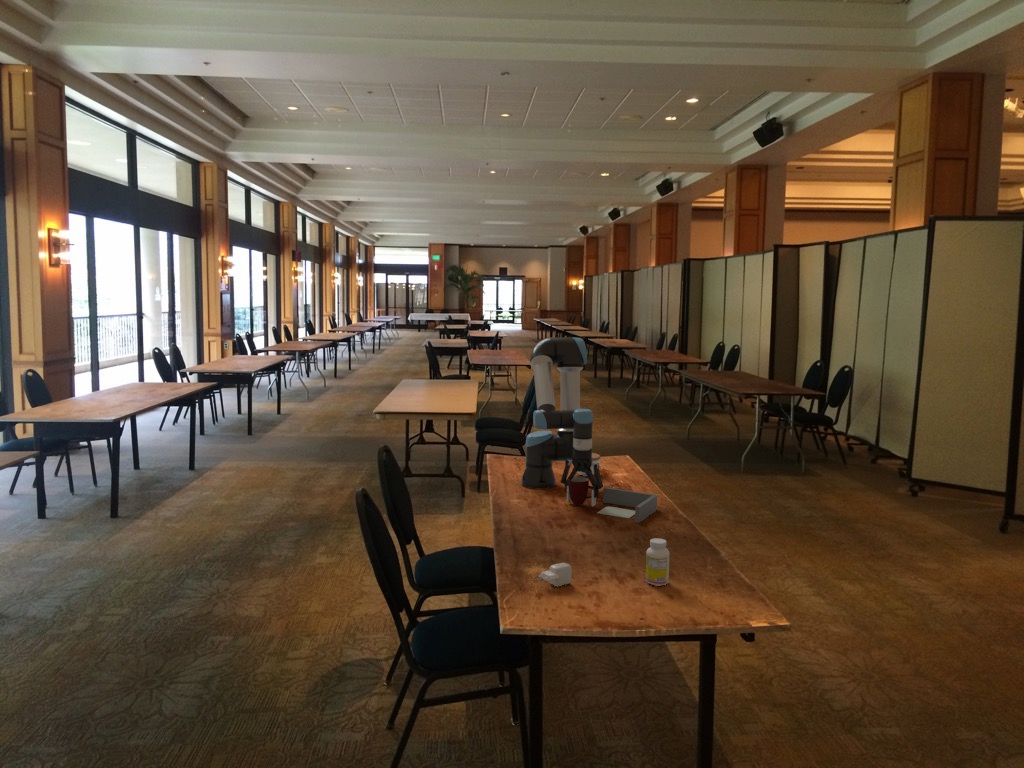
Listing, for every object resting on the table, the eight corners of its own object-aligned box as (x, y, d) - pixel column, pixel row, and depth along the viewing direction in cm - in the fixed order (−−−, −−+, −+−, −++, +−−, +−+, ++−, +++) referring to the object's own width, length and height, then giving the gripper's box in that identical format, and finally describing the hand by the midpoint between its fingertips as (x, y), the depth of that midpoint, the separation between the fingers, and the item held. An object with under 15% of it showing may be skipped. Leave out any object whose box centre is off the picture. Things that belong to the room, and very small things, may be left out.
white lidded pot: (566, 474, 353) (567, 450, 351) (585, 469, 361) (585, 447, 360) (587, 479, 344) (587, 455, 342) (605, 474, 352) (606, 451, 351)
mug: (593, 501, 305) (594, 477, 304) (595, 507, 297) (595, 482, 296) (567, 500, 306) (567, 476, 304) (568, 506, 298) (568, 481, 296)
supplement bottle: (652, 577, 227) (653, 535, 226) (672, 582, 223) (674, 540, 221) (641, 583, 222) (642, 541, 220) (661, 589, 218) (663, 546, 216)
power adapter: (541, 593, 215) (541, 573, 214) (532, 587, 219) (532, 567, 218) (573, 585, 220) (573, 565, 220) (563, 579, 224) (563, 560, 224)
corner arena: (583, 513, 290) (584, 498, 290) (604, 501, 307) (605, 487, 307) (638, 523, 279) (639, 507, 278) (657, 509, 296) (657, 494, 296)
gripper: (552, 446, 301) (551, 501, 304) (605, 453, 290) (603, 510, 293) (560, 443, 307) (559, 496, 310) (612, 450, 296) (611, 505, 299)
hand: (581, 503), depth 301 cm, fingers closed on mug, 10 cm apart
